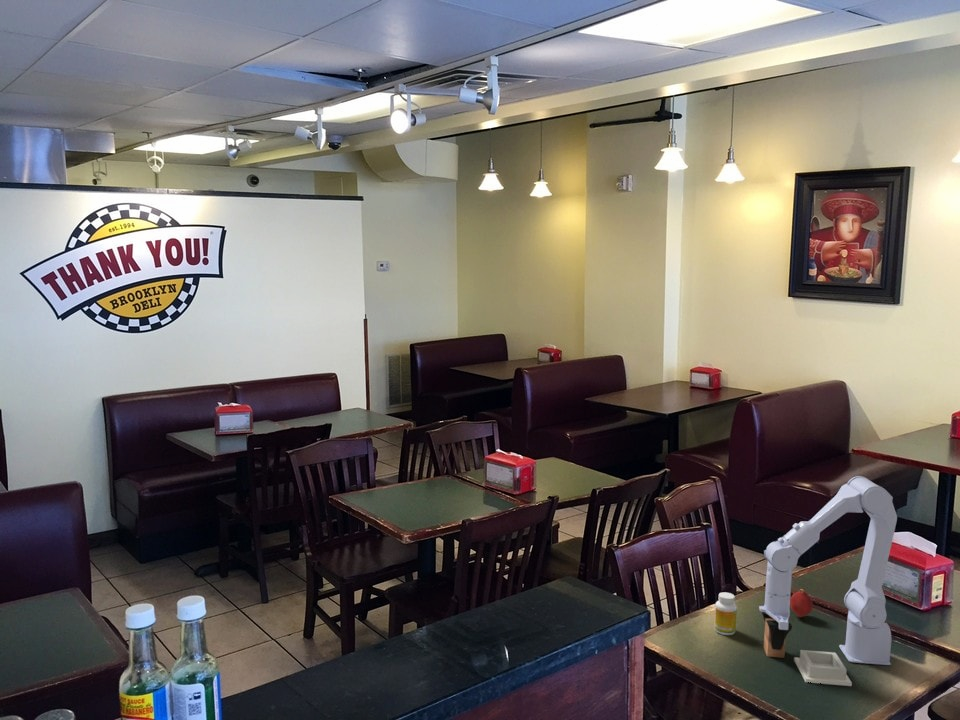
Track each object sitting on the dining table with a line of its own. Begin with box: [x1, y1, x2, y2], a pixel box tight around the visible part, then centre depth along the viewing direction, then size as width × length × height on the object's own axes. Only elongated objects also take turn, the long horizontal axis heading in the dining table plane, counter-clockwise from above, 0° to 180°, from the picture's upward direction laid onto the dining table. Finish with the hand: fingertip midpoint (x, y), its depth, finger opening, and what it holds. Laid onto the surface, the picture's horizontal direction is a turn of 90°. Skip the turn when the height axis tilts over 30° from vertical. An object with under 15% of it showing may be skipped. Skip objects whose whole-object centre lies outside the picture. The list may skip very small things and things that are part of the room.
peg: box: [763, 618, 787, 658], centre depth 190 cm, size 4×4×8 cm
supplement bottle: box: [713, 591, 738, 636], centre depth 201 cm, size 5×5×10 cm
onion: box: [790, 588, 814, 618], centre depth 210 cm, size 6×6×8 cm
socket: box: [793, 649, 853, 687], centre depth 181 cm, size 10×10×3 cm
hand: (774, 644), depth 190 cm, fingers closed on peg, 4 cm apart
